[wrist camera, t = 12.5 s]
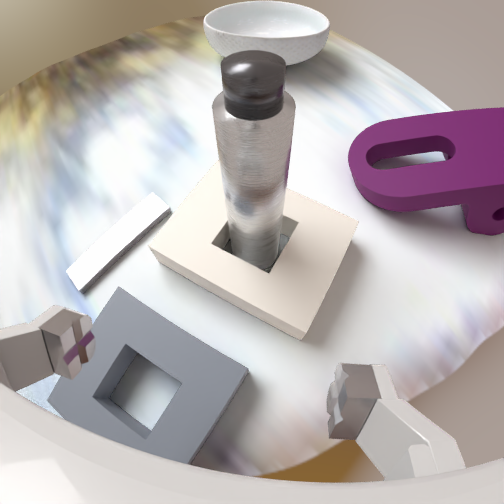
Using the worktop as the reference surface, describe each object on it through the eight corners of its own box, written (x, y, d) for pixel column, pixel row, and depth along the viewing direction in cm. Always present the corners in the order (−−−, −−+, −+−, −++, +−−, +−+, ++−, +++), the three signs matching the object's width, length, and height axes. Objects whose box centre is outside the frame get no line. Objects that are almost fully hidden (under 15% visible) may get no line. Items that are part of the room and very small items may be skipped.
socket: (65, 402, 17) (46, 400, 15) (131, 298, 21) (118, 286, 19) (173, 487, 15) (163, 497, 13) (248, 371, 19) (247, 368, 17)
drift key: (85, 295, 22) (78, 290, 21) (72, 276, 23) (65, 271, 22) (172, 215, 25) (169, 207, 24) (156, 200, 26) (152, 192, 25)
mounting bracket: (367, 252, 30) (522, 230, 22) (353, 205, 23) (545, 180, 15) (360, 180, 34) (496, 162, 26) (343, 127, 27) (504, 107, 19)
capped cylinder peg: (224, 257, 23) (188, 73, 9) (247, 223, 24) (238, 40, 11) (264, 278, 22) (274, 94, 9) (285, 242, 23) (313, 57, 10)
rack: (158, 261, 23) (148, 245, 20) (221, 179, 26) (218, 159, 24) (300, 340, 20) (306, 333, 18) (350, 238, 23) (359, 221, 21)
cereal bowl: (191, 50, 39) (186, 12, 33) (282, 31, 42) (283, -4, 36) (241, 97, 32) (239, 45, 26) (348, 72, 36) (356, 29, 29)
